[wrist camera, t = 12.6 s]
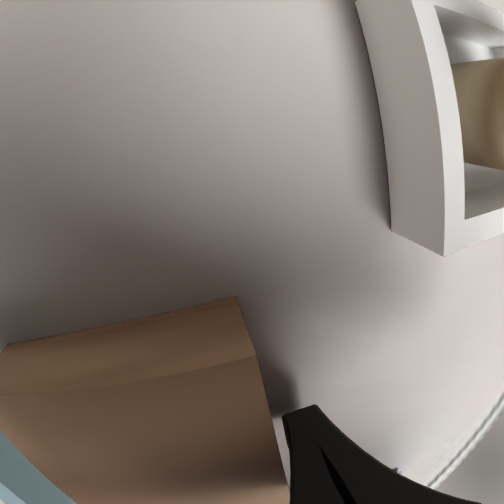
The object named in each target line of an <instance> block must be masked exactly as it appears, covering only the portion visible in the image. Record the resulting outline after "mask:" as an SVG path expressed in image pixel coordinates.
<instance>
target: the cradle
mask: <svg viewBox="0 0 504 504" xmlns="http://www.w3.org/2000/svg"><path fill="white" fill-rule="evenodd" d="M355 6H356V9H357V12H358V16H359V19H360V23H361V26H362V30H363V34H364V38H365V42H366V46H367V50H368V54H369V58H370V63H371V67H372V72H373V77H374V82H375V87H376V92H377V98H378V103H379V109H380V115H381V122H382V129H383V136H384V143H385V152H386V161H387V170H388V181H389V194H390V209H391V231H392V232H394V233H396V234H398V235H401V236H403V237H405V238H407V239H409V240H411V241H413V242H415V243H417V244H419V245H421V246H423V247H425V248H427V249H429V250H431V251H433V252H435V253H437V254H439V255H441V256H443V257H444V256H446V255H449V254H452V253H454V252H457V251H459V250H462V249H465V248H467V247H470V246H472V245H475V244H477V243H480V242H482V241H484V240H487V239H489V238H492V237H494V236H496V235H499V234H501V233H504V171H503V170H498V169H494V168H489V167H484V166H479V165H474V164H469V163H464V161H463V147H462V136H461V126H460V118H459V111H458V104H457V97H456V91H455V86H454V80H453V75H452V70H451V66H450V64H456V63H463V62H470V61H478V60H487V59H498V58H504V13H502V12H500V11H498V10H496V9H494V8H492V7H490V6H488V5H486V4H484V3H482V2H480V1H478V0H357V1H355Z"/></svg>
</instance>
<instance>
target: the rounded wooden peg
mask: <svg viewBox="0 0 504 504" xmlns="http://www.w3.org/2000/svg"><path fill="white" fill-rule="evenodd" d="M450 66H451V70H452V75H453V80H454V86H455V91H456V97H457V104H458V111H459V118H460V126H461V136H462V147H463V161H464V163H469V164H474V165H479V166H484V167H489V168H494V169H498V170H503V171H504V58H498V59H487V60H478V61H470V62H463V63H456V64H450Z"/></svg>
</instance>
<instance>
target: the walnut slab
mask: <svg viewBox="0 0 504 504" xmlns="http://www.w3.org/2000/svg"><path fill="white" fill-rule="evenodd" d="M0 430H1V431H2V432H3V433H4V435H5V436H6V437H7V438H8V439H9V440H10V441H11V442H12V444H13V445H14V446H15V447H16V448H17V449H18V450H19V451H20V452H21V453H22V454H23V455H24V456H25V457H26V458H27V459H28V460H29V462H30V463H31V464H33V465H34V466H35V467H36V468H37V469H38V470H39V471H40V472H41V473H42V474H43V475H44V476H45V477H46V478H47V479H48V480H49V481H51V482H52V483H53V484H54V485H55V486H56V487H57V488H59V489H60V490H61V491H62V492H63V493H64V494H66V495H67V496H68V497H69V498H70V499H72V500H73V501H74V502H75V503H77V504H290V492H289V488H288V484H287V480H286V476H285V472H284V468H283V464H282V460H281V456H280V452H279V448H278V444H277V440H276V436H275V431H274V427H273V423H272V419H271V415H270V410H269V406H268V402H267V398H266V393H265V389H264V385H263V381H262V376H261V372H260V368H259V363H258V359H257V355H256V352H255V349H254V346H253V344H252V341H251V338H250V335H249V332H248V330H247V327H246V324H245V321H244V318H243V315H242V313H241V310H240V307H239V304H238V301H237V298H236V296H235V297H231V298H227V299H223V300H219V301H215V302H211V303H207V304H203V305H198V306H194V307H190V308H186V309H181V310H177V311H173V312H168V313H164V314H160V315H155V316H151V317H146V318H142V319H137V320H132V321H128V322H123V323H118V324H114V325H109V326H104V327H99V328H94V329H89V330H84V331H79V332H74V333H69V334H64V335H58V336H53V337H48V338H42V339H37V340H31V341H25V342H20V343H14V344H8V345H7V346H6V347H5V349H4V350H3V351H2V353H1V354H0Z"/></svg>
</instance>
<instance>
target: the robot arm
mask: <svg viewBox="0 0 504 504" xmlns="http://www.w3.org/2000/svg"><path fill="white" fill-rule="evenodd" d="M282 421H283V426H284V431H285V436H286V441H287V445H288V448H289V453H290V469H291V477H290V504H481V503H478V502H474V501H469V500H465V499H461V498H457V497H453V496H450V495H447V494H444V493H441V492H438V491H435V490H433V489H431V488H428V487H426V486H423V485H421V484H419V483H416V482H414V481H412V480H410V479H408V478H406V477H404V476H402V473H401V471H397V472H395V471H394V470H392V469H390V468H388V467H387V466H385V465H384V464H382V463H381V462H379V461H378V460H376V459H375V458H374V457H372V456H371V455H369V454H368V453H367V452H365V451H364V450H363V449H361V448H360V447H359V446H358V445H357V444H355V443H354V442H353V441H352V440H351V439H350V438H348V437H347V436H346V435H345V434H344V433H343V432H342V431H341V430H340V429H339V428H338V427H337V426H335V425H334V424H333V423H332V422H331V420H330V419H329V418H328V417H327V416H326V415H325V414H324V413H323V412H322V411H321V409H320V408H319V407H318V406H317V405H311V406H308V407H305V408H302V409H299V410H296V411H293V412H289V413H286V414H284V415H283V416H282Z"/></svg>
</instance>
